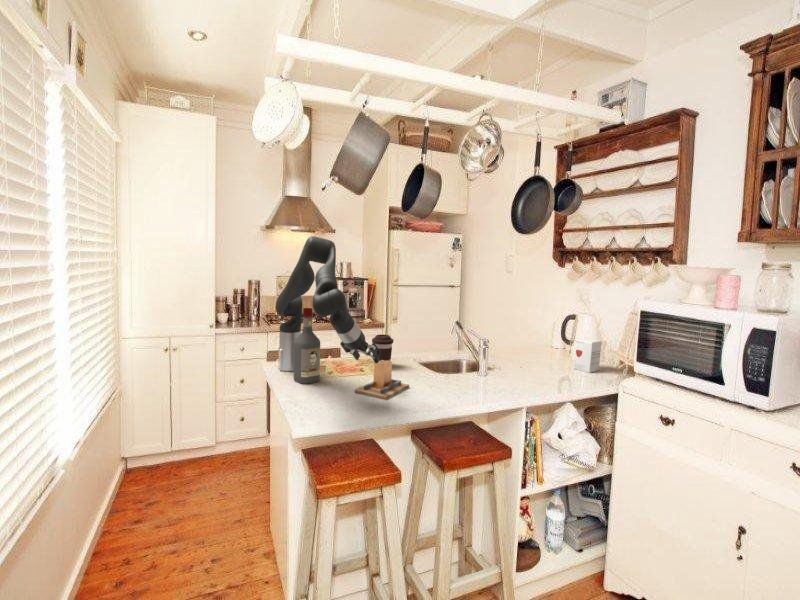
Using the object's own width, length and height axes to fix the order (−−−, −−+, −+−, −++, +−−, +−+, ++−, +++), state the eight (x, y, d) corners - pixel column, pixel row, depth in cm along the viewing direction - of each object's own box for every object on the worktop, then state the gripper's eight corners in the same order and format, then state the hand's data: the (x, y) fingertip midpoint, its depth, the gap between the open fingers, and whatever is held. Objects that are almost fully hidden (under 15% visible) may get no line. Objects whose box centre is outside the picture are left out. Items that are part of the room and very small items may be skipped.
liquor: (291, 379, 183) (291, 307, 179) (309, 375, 189) (311, 306, 186) (303, 385, 177) (304, 310, 173) (322, 381, 183) (323, 309, 180)
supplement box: (572, 368, 219) (574, 338, 217) (582, 366, 224) (584, 337, 222) (589, 373, 211) (592, 342, 210) (599, 370, 217) (602, 340, 215)
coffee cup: (372, 363, 212) (373, 333, 211) (392, 365, 212) (394, 334, 210) (370, 369, 203) (371, 337, 201) (391, 370, 202) (392, 338, 200)
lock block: (383, 390, 171) (384, 364, 170) (373, 388, 173) (374, 363, 172) (391, 386, 176) (392, 361, 175) (381, 384, 178) (382, 359, 177)
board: (385, 399, 164) (386, 392, 163) (354, 392, 170) (354, 385, 170) (409, 387, 179) (409, 381, 179) (379, 381, 186) (379, 374, 186)
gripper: (372, 327, 150) (388, 354, 162) (338, 322, 157) (356, 348, 168) (363, 345, 146) (380, 371, 158) (328, 339, 153) (347, 364, 165)
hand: (367, 359), depth 163 cm, fingers open, 8 cm apart
